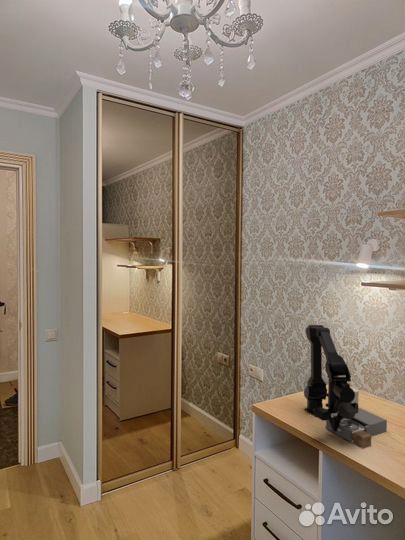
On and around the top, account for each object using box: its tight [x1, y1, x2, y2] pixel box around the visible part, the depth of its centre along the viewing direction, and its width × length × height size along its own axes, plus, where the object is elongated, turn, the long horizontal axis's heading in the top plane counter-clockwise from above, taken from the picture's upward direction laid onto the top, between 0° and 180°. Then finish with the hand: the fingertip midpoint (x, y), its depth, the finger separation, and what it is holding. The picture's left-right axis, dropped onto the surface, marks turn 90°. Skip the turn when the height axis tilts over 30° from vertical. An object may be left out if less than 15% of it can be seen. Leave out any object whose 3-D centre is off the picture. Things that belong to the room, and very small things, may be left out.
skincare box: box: [350, 387, 359, 405], centre depth 165 cm, size 6×4×12 cm
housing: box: [342, 407, 388, 437], centre depth 155 cm, size 13×12×5 cm
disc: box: [340, 420, 359, 431], centre depth 151 cm, size 7×7×2 cm
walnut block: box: [352, 430, 372, 449], centre depth 141 cm, size 4×4×4 cm
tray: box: [325, 418, 364, 442], centre depth 151 cm, size 12×12×4 cm
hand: (334, 431), depth 147 cm, fingers closed
